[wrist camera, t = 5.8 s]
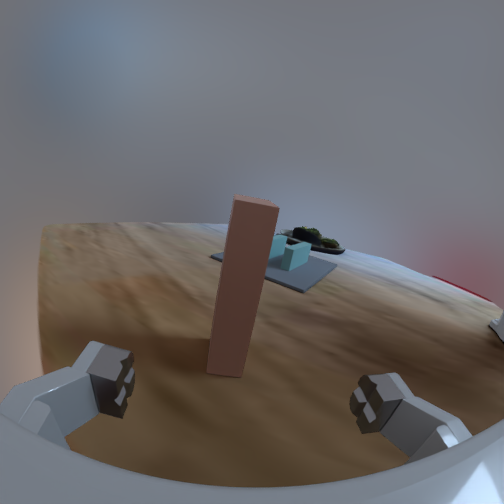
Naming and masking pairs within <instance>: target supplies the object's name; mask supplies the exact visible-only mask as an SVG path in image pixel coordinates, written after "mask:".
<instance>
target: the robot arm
mask: <svg viewBox="0 0 504 504" xmlns="http://www.w3.org/2000/svg"><path fill="white" fill-rule="evenodd" d="M489 325H490V326H491V327H492V328H493V329H494V330H495V331H496V332H497V334H498V335H499V337H500V338H501V339H502V340H503V341H504V311H503V313H502V315H501V317H500V319H495V320H491V322H490V324H489ZM133 362H134V356H133V353H132V352H131V351H128V350H124V349H120V348H117V347H113V346H110V345H107V344H103V343H99V342H96V341H90V342H89V343H88V345H87V346H86V347H85V349H84V350H83V352H82V353H81V354H80V356H79V357H78V359H77V360H76V361H75V363H74V364H73V366H72V367H68V366H67V367H65V368H62V369H59V370H57V371H54V372H51V373H49V374H46V375H43V376H41V377H38V378H35V379H33V380H30V381H27V382H24V383H22V384H19V385H16V386H14V387H13V388H12V389H11V391H10V392H9V393H8V394H7V396H6V397H5V398H4V400H3V401H2V403H1V404H0V504H504V419H503V420H501V421H499V422H498V423H496V424H494V425H493V426H491V427H489V428H487V429H486V430H484V431H482V432H480V433H478V434H477V435H475V436H472V435H471V433H470V432H469V431H468V429H467V428H466V427H465V425H464V424H463V423H462V421H461V420H460V419H459V418H457V417H455V416H453V415H451V414H450V413H448V412H446V411H444V410H442V409H440V408H438V407H436V406H434V405H432V404H431V403H429V402H427V401H425V400H423V399H421V398H419V397H415V396H414V395H413V393H412V392H411V391H410V389H409V388H408V387H407V385H406V384H405V383H404V381H403V380H402V379H401V377H400V376H399V375H398V374H397V373H385V374H373V375H363V376H362V377H361V378H360V380H359V382H358V385H359V387H358V388H357V389H356V390H354V391H353V393H352V395H351V397H350V410H351V412H352V414H354V415H355V416H356V417H358V418H357V421H356V423H357V425H358V427H359V429H360V431H361V433H362V434H366V433H373V432H380V433H381V434H382V435H383V436H385V437H386V438H387V439H388V440H389V441H391V442H392V443H393V444H394V445H395V446H397V447H398V448H399V449H400V450H402V451H403V452H404V453H405V454H407V455H408V456H409V457H410V458H409V460H408V461H407V462H406V463H405V464H404V465H402V466H399V467H396V468H393V469H389V470H385V471H382V472H378V473H374V474H370V475H366V476H361V477H356V478H351V479H346V480H340V481H334V482H328V483H321V484H312V485H302V486H290V487H267V488H247V487H224V486H212V485H202V484H194V483H187V482H180V481H174V480H168V479H163V478H158V477H153V476H149V475H145V474H141V473H137V472H133V471H129V470H125V469H122V468H119V467H115V466H112V465H109V464H106V463H103V462H100V461H97V460H94V459H91V458H89V457H86V456H83V455H81V454H78V453H76V452H73V451H71V449H70V447H69V446H68V444H67V442H66V440H65V438H64V437H65V436H67V435H68V434H70V433H71V432H73V431H74V430H76V429H77V428H79V427H80V426H82V425H83V424H85V423H86V422H88V421H89V420H90V419H92V418H93V417H95V416H96V415H98V414H99V412H100V413H103V414H107V415H110V416H114V417H118V418H122V419H123V416H124V413H125V411H126V408H127V405H128V404H127V398H128V397H130V396H131V395H132V392H133V388H134V383H135V371H134V369H133V368H132V365H133Z"/></svg>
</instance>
